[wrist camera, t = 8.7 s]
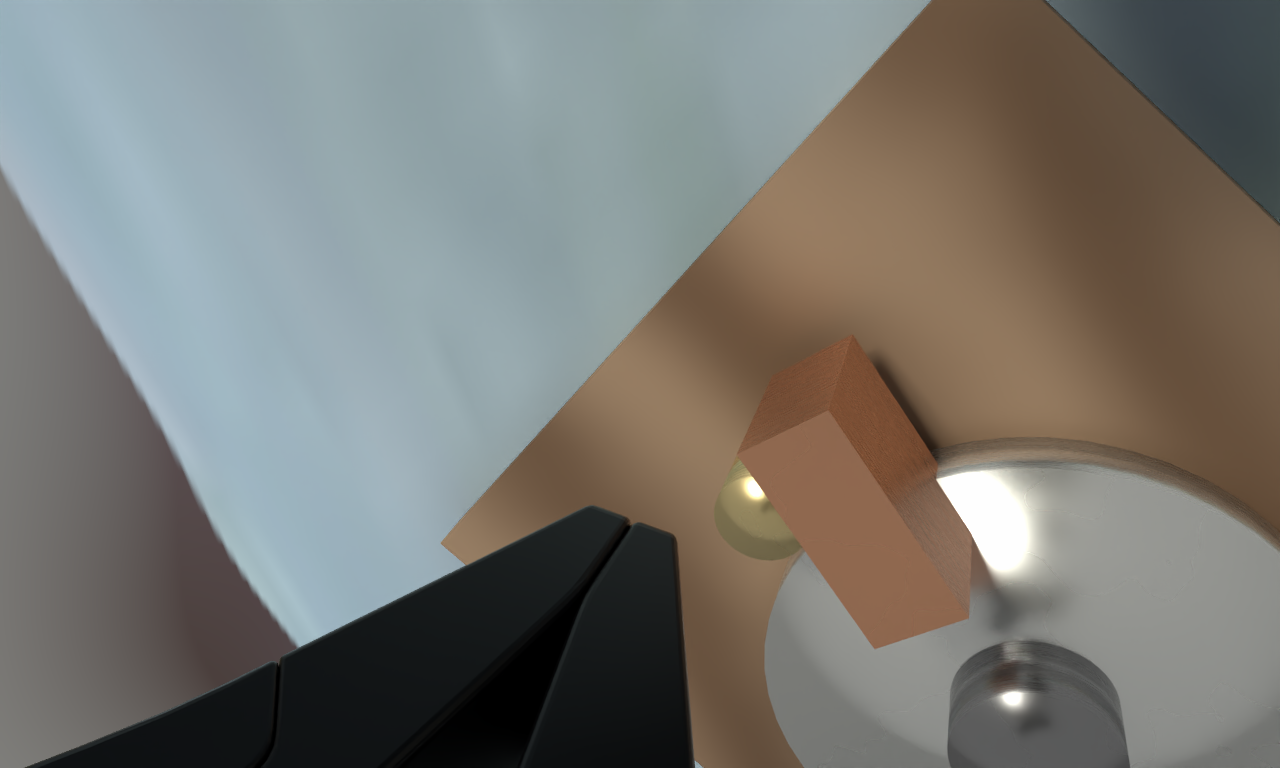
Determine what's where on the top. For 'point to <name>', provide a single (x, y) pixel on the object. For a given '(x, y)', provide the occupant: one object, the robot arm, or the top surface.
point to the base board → (931, 316)
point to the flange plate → (1005, 594)
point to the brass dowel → (751, 518)
